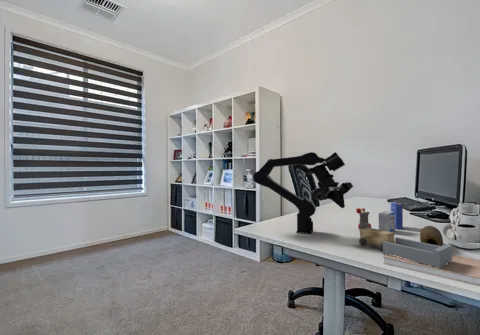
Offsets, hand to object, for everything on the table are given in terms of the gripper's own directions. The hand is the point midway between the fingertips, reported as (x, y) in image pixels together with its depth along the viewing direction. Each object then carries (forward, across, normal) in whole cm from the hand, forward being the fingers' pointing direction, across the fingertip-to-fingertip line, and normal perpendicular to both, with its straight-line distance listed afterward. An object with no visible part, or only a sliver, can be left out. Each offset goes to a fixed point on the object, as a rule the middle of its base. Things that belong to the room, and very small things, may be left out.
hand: (343, 207), depth 102 cm
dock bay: (+23, -2, +8) cm, 24 cm away
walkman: (+10, -38, -13) cm, 41 cm away
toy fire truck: (+8, -18, -14) cm, 24 cm away
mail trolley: (+18, -1, +2) cm, 18 cm away
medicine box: (+11, -27, -10) cm, 31 cm away
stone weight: (+24, -20, +7) cm, 32 cm away
